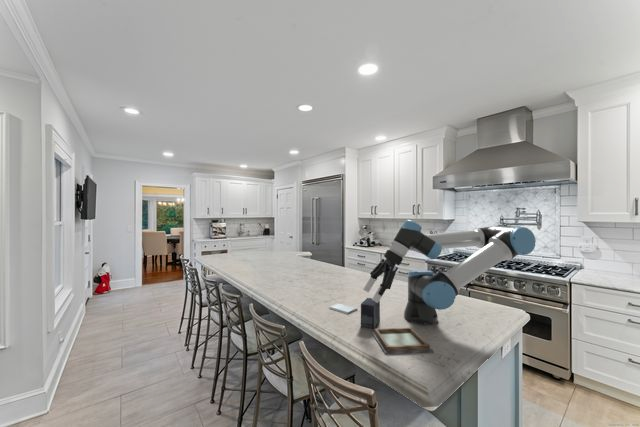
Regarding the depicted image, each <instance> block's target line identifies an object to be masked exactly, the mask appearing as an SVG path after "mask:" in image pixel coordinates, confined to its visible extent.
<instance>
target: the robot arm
mask: <svg viewBox="0 0 640 427" xmlns="http://www.w3.org/2000/svg"><path fill="white" fill-rule="evenodd" d="M468 247H471V248H472V247H476V248H477V249H478V250H477V251H476V252H474V253H472V254H470V256H468V257H466V258H465V259H463V260H462V261H461V262H459V263H458V264H455V265H454V266H453V267H451V268H450V269H448V270H447V271H438V272H437V273H434V271H432V270H421V269H420V270H419V269H417V270H416V269H414V270H410V271H408V275H407V303H406V306H405V308H404V311H403V317H404V319H406V320H407V321H408V322H411V323H413V324H420V325H434V324H436V323H438V320H439V319H438V313H437V310H446V309H449V308H450V307H452V306H453V305H454V303H455V300H456V297H457V296H458V295H460V289H461V288H463V287H465V286H466V285H468V284H469V283H471V282H472V281H474V280H475V279H477V278H478V277H480V276H481V275H483V274H484V273H486V272H487V271H489V270H490V269H491V268H493V267H495V266H496V265H498V264H499V263H501V262H502V261H504V260H505V261H511V260H513V259H514V258H515V257H518V256H519V255H521V256H525V255H526V256H527V255H530V254H531V253H532V252H533V251H534V250H535V247H536V236H535V234H534V232H533V231H532V230H531V229H529V228H528V227H525V226H521V225H517V226H516V225H515V226H514V225H513V226H512V225H493V226H492V225H491V226H485V227H476V228H474V229H473V230H464V231H451V232H440V233H423V232H422V226H421V225H420V224H419V223H417V222H416V221H414V220H411V219H406V220H405V221H404V222H403V223H402V225H401V227H399V230H398V232H397V234H396V235H395V237H394V239H393V240H392V241H391V242H390V245H389V246H388V248H389V249H387V250H386V251H385V253H384V254H383V257H384V258H385V259H384V258H382V259H381V260H380V261H379V263H377V265H376V266H375V267H374V268H373V269H372V271H371V272H370V278H369V279H368V280H367V282H366V284H365V285H364V287H363V291H365V292H367V293H370V291H371V290H372V288H373V287H374V285H375V282H376V281H377V280H378V278H379V277H380V276H381V275H382V274H383V277H382V278H383V279H382V282H381V283H380V285H379V287H378V288H377V289H376V291H375V293H374V295H373V296H372V297H371V298H372V300H373V301H375V302H377V303H378V302H379V300H380V301H381V299H382V297H383V295H384V293H385V292H386V290H391V287H392V285H393V282H394V279H395V276H396V273H397V272H398V269H399V267H398V266H400V265H401V263H402V262H403V260H404V258H405V257H406V256H407V254H408V252H409V251H413V252H416V253H418V254H422V255H424V256H425V257H426V258H428V259H430V260H435V259H437V258H439V256H440V255H441V253H442V252H443V251H442V250H444V249H445V250H446V249H456V248H459V249H460V248H468ZM396 265H397V266H396Z"/></svg>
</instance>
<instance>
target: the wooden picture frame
mask: <svg viewBox="0 0 640 427" xmlns="http://www.w3.org/2000/svg"><path fill="white" fill-rule="evenodd" d="M370 333H371V334H372V336H373V337H374V338H375V340H376V343H378V346H379V347H380V348H381V350H382V351H383V353H384V354H385V355H399V354H407V355H408V354H428V353H429V354H430V353H431V354H432V353H433V354H434V352H435V351H434V350H433V349H432V348H431V347H430V344H429V343H428V342H427V341H426V340H425V339H424V338H423V337H422V336H420V334H418V332H416V330H415V329H413V328H412V327H387V328H385V327H384V328H383V327H381V328H380V327H379V328H375V329H373V330H371V332H370Z"/></svg>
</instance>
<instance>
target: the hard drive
mask: <svg viewBox="0 0 640 427" xmlns="http://www.w3.org/2000/svg"><path fill="white" fill-rule="evenodd" d="M328 308H329V309H330V310H333V311H337V312H339V313H343V314H346V315H349V314H352V313H354V312H356V311H357V312H358V308H357V307H353V306H350V305H346V304H344V303H343V304H342V303H339V302H337V303H335V304H332V305H329V307H328Z"/></svg>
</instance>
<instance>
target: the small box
mask: <svg viewBox="0 0 640 427" xmlns="http://www.w3.org/2000/svg"><path fill="white" fill-rule="evenodd" d="M372 298H373V297H366V299H365V300H363V301H362V302H361V303H360V328H364V329H370V330H374V329H376V328H377V326H378V325H379V323H380V322H381V314H380V313H381V312H380V311H381V308H380V307H381V306H380V305H381V304H380V303H381V302H380V301H381V299H380V300H379V302H378V303H377V302H375V301H373V300H372Z"/></svg>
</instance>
